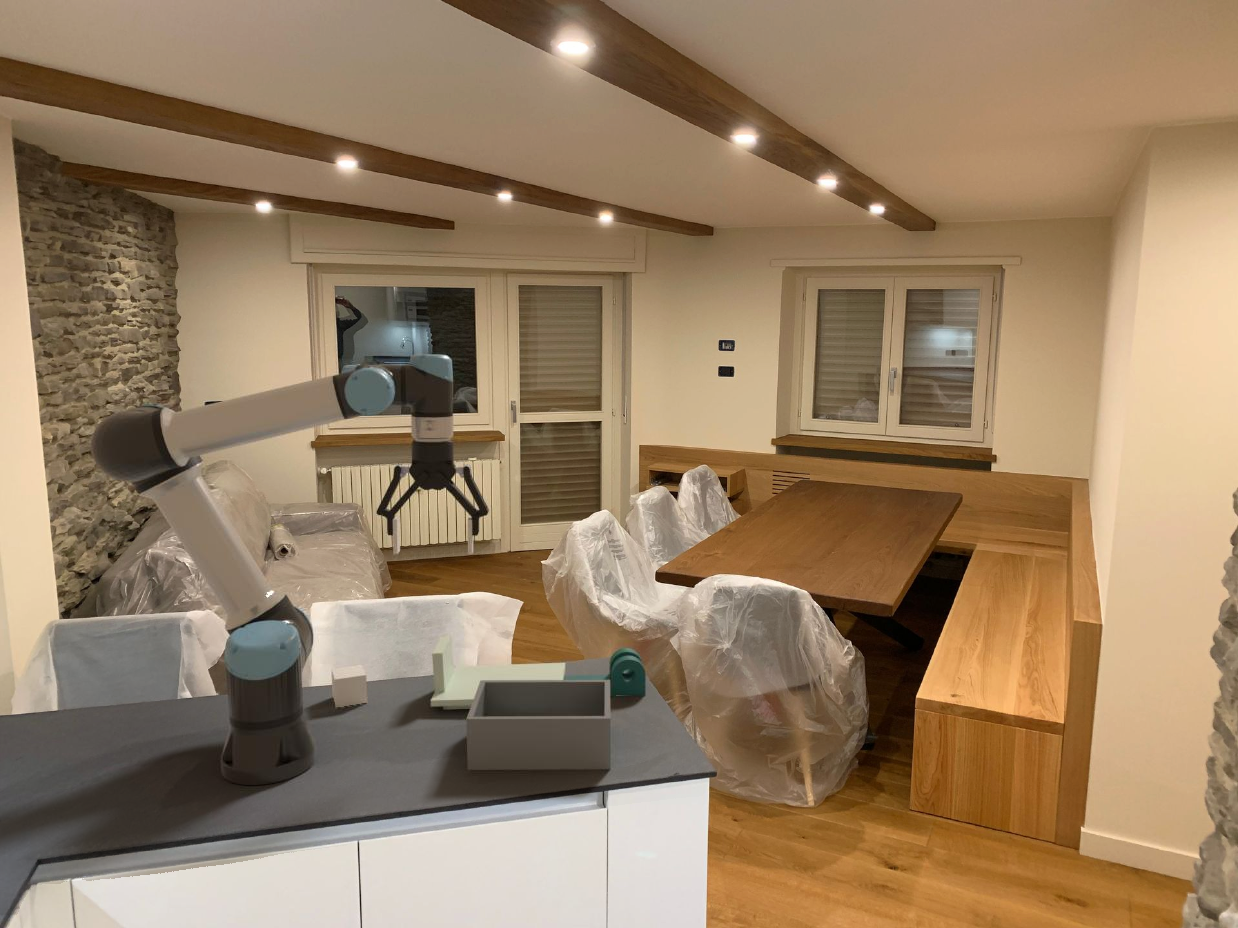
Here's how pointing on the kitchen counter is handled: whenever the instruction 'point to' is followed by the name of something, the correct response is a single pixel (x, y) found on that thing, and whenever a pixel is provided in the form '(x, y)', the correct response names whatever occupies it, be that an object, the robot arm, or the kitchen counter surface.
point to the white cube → (349, 686)
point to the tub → (539, 725)
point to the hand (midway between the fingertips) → (433, 552)
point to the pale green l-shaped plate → (478, 676)
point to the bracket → (622, 674)
